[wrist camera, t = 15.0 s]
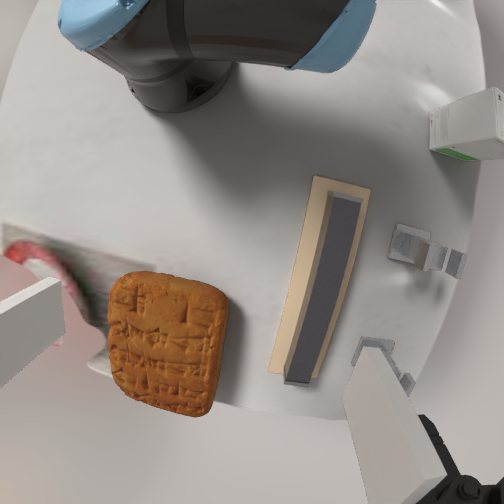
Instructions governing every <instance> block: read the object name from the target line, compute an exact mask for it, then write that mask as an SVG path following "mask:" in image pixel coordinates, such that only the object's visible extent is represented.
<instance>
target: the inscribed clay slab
mask: <svg viewBox="0 0 504 504" xmlns="http://www.w3.org/2000/svg"><path fill="white" fill-rule="evenodd" d="M107 318H108V323H109V324H110V326H111V328H110V331H109V334H108V347H109V353H110V354H109V359H110V362H111V371H112V375H113V378H114V380H115V383H116V384H117V385H118V386H119V387H120V388H121V390H122V391H124V392H125V395H127V396H129V397H131V398H133V399H135V400H137V401H142V402H143V403H146V404H149V405H151V406H154V407H157V408H161V409H164V410H167V411H171V412H174V413H177V414H182V415H186V416H191V417H200V416H203V415H205V414H207V413H208V412H209V410H210V409H211V407H212V404H213V400H214V397H215V393H216V389H217V385H218V380H219V374H220V367H221V359H222V351H223V345H224V338H225V332H226V324H227V318H228V298H227V297H226V295H225V294H224V293H223V292H222V291H221V290H219V289H218V288H216V287H214V286H211V285H209V284H206V283H203V282H200V281H195V280H187V279H184V278H181V277H175V276H173V275H170V274H164V273H155V272H149V271H140V272H131V273H128V274H126V275H124V276H123V277H121V278H119V279H118V280H117V281H116V282H115V284H114V285H113V287H112V288H111V290H110V294H109V310H108V316H107Z"/></svg>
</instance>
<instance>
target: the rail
mask: <svg viewBox="0 0 504 504" xmlns="http://www.w3.org/2000/svg"><path fill="white" fill-rule="evenodd" d="M327 195H328V196H327V201H326V205H325V210H324V215H323V220H322V224H321V229H320V233H319V237H318V242H317V246H316V250H315V255H314V259H313V263H312V267H311V271H310V275H309V279H308V283H307V287H306V291H305V295H304V299H303V302H302V306H301V310H300V313H299V317H298V321H297V324H296V328H295V331H294V335H293V338H292V342H291V345H290V349H289V352H288V355H287V359H286V362H285V365H284V366H283V376H284V384H287V385H295V386H303V387H309V381H310V379H311V376H312V373H313V370H314V368H315V365H316V362H317V359H318V357H319V354H320V351H321V348H322V345H323V342H324V339H325V336H326V333H327V330H328V327H329V324H330V321H331V318H332V314H333V311H334V308H335V305H336V301H337V298H338V295H339V291H340V288H341V284H342V281H343V277H344V273H345V270H346V266H347V262H348V258H349V255H350V251H351V247H352V243H353V238H354V234H355V230H356V226H357V221H358V217H359V212H360V208H361V203H362V204H363V200H364V199H363V198H359V197H355V196H351V195H347V194H343V193H339V192H335V191H328V192H327Z"/></svg>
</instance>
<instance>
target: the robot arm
mask: <svg viewBox="0 0 504 504" xmlns="http://www.w3.org/2000/svg"><path fill="white" fill-rule="evenodd" d="M375 1H376V0H63V1H62V3H61V6H60V9H59V13H58V27H59V29H60V32H61V34H62V35H63V36H64V37H65V38H66V39H67V40H69V41H70V42H71V43H72V44H73V45H75V47H76V48H77V49H79V50H80V51H82V50H83V51H85V52H87V53H89V54H90V55H92V56H94V57H95V58H97V59H98V60H100V61H102V62H103V63H105V64H107V65H108V66H110V67H111V68H113V69H115V70H116V71H118V72H119V73H121V74H122V75H124V76H125V79H126V80H127V83H128V86H129V88H130V90H131V92H132V94H133V95H134V96H135V97H136V98H137V99H138V100H139V101H140V102H141V103H143V104H144V105H146V106H148V107H150V108H151V109H154V110H156V111H160V112H166V113H177V112H183V111H187V110H190V109H193V108H196V107H198V106H200V105H202V104H203V103H205V102H207V101H208V100H210V99H211V98H212V97H213V96H214V95H215V94H216V93H217V92H218V91H219V90H220V89H221V88H222V87H223V85H224V84H225V82H226V81H227V79H228V77H229V74H230V72H231V68H232V62H240V63H251V64H261V65H269V66H276V67H283V68H284V69H285V70H295V69H300V70H307V71H313V72H320V73H331V72H334V71H337V70H339V69H340V68H342V67H343V66H345V65H346V64H347V63H348V62H349V61H350V60H351V59H352V58H353V56H354V55H355V54H356V52H357V50H358V49H359V47H360V46H361V44H362V42H363V40H364V38H365V36H366V34H367V32H368V29H369V27H370V24H371V22H372V19H373V16H374V13H375V10H376V3H375ZM65 333H66V330H65V324H64V313H63V303H62V290H61V280H59V279H56V278H53V277H50V276H49V277H47V278H45V279H43V280H41V281H39V282H37V283H35V284H33V285H32V286H30V287H28V288H26V289H24V290H22V291H20V292H18V293H16V294H14V295H12V296H10V297H9V298H7V299H5V300H3V301H1V302H0V388H2V387H3V386H4V385H5V384H6V383H7V382H8V381H9V380H11V379H12V378H13V377H14V376H15V375H16V374H17V373H18V372H20V371H21V370H22V369H23V368H24V367H25V366H26V365H28V364H29V363H30V362H31V361H32V360H34V359H35V358H36V357H37V356H38V355H39V354H41V353H42V352H43V351H44V350H45V349H47V348H48V347H49V346H50V345H51V344H53V343H54V342H55V341H56V340H58V339H59V338H60V337H61V336H62V335H64V334H65ZM341 398H342V402H343V405H344V409H345V412H346V416H347V420H348V423H349V427H350V431H351V435H352V438H353V441H354V446H355V450H356V454H357V458H358V462H359V466H360V470H361V474H362V478H363V483H364V487H365V491H366V496H367V500H368V504H504V477H503V478H502V479H501V480H500V481H499V482H498V483H497V484H496V485H481V484H480V483H479V481H478V480H477V479H475V478H474V477H472V476H468V475H460V473H459V471H458V469H457V467H456V465H455V463H454V461H453V459H452V457H451V455H450V453H449V451H448V449H447V447H446V445H445V444H443V440H442V438H441V436H439V432H438V431H437V429H436V427H435V425H434V423H432V422H431V421H430V420H429V419H428V418H427V417H426V416H425V415H417V413H416V411H415V409H414V408H413V406H412V404H411V402H410V400H409V398H408V397H407V395H406V393H405V391H404V389H403V388H402V386H401V384H400V382H399V380H398V379H397V377H396V375H395V373H394V372H393V370H392V368H391V366H390V365H389V363H388V361H387V360H386V358H385V356H384V355H383V353H382V351H381V349H380V348H375V347H365V346H363V348H362V351H361V353H360V356H359V358H358V361H357V363H356V365H355V368H354V370H353V372H352V375H351V377H350V379H349V382H348V384H347V386H346V388H345V390H344V393H343V395H342V397H341Z"/></svg>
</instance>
